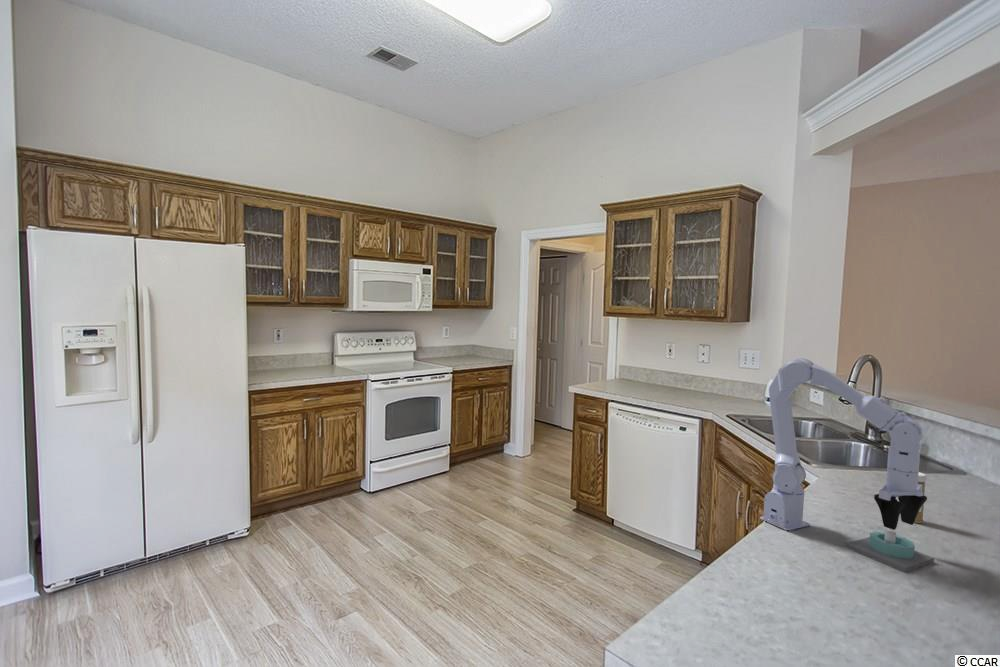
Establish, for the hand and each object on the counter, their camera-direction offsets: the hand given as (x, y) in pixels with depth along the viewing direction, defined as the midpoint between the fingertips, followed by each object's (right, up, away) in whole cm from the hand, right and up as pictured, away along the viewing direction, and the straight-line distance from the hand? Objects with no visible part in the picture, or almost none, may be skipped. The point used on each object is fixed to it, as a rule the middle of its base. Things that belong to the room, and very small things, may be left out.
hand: (898, 525), depth 114 cm
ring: (-2, -5, -1) cm, 6 cm away
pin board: (-3, -6, -1) cm, 7 cm away
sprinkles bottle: (+20, -7, +20) cm, 29 cm away
